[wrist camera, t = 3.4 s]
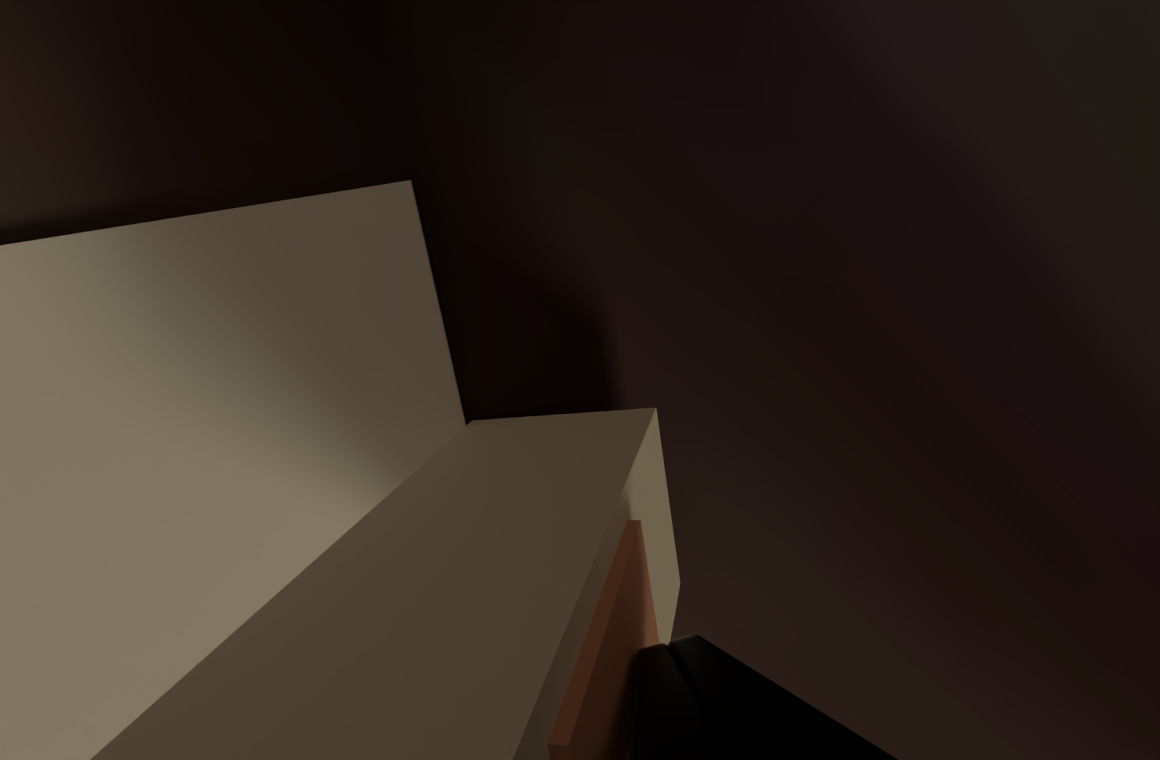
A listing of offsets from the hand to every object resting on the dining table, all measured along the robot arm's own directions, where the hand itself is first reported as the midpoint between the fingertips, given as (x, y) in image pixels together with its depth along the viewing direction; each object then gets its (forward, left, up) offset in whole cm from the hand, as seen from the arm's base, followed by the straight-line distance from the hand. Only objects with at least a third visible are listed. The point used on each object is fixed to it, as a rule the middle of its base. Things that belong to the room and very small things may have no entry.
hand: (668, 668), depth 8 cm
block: (0, 0, -5) cm, 5 cm away
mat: (+9, 0, -6) cm, 11 cm away
